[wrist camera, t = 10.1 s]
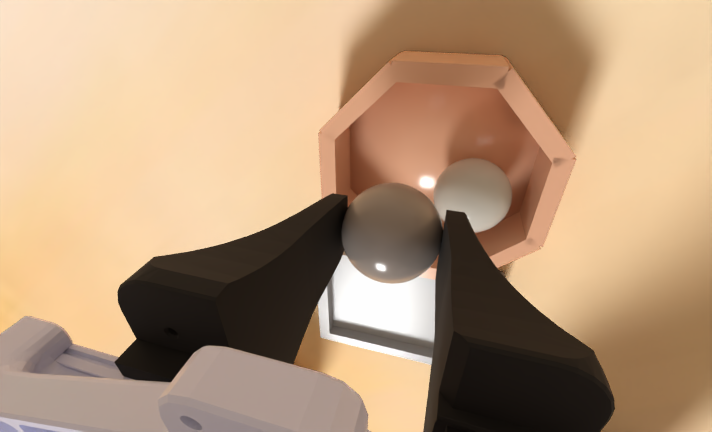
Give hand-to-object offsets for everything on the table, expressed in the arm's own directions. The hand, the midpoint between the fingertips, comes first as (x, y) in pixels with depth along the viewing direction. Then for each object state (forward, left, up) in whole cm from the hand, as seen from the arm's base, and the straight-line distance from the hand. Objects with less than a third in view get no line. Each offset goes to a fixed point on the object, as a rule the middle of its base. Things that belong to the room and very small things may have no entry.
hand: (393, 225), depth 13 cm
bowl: (-1, +1, -7) cm, 7 cm away
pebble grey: (-2, +1, -6) cm, 7 cm away
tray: (0, +12, -7) cm, 14 cm away
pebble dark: (0, 0, -1) cm, 1 cm away
